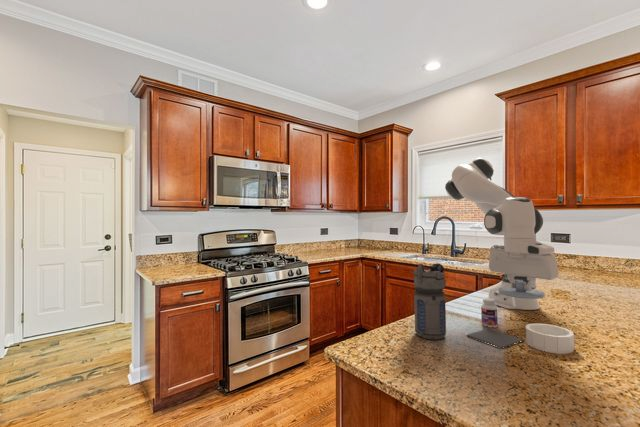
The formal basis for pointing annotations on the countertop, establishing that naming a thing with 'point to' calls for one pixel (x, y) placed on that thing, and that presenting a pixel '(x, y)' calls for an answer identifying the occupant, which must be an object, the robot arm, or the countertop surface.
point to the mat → (495, 338)
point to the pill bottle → (489, 313)
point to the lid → (521, 292)
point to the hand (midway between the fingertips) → (521, 289)
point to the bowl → (550, 338)
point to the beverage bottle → (430, 302)
